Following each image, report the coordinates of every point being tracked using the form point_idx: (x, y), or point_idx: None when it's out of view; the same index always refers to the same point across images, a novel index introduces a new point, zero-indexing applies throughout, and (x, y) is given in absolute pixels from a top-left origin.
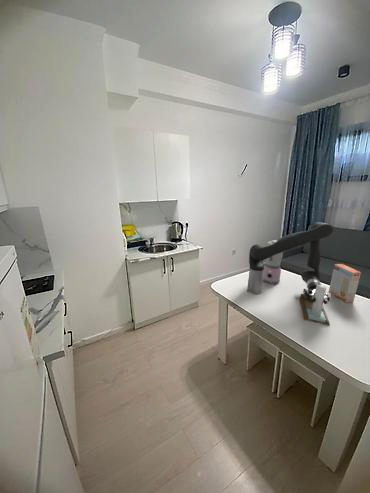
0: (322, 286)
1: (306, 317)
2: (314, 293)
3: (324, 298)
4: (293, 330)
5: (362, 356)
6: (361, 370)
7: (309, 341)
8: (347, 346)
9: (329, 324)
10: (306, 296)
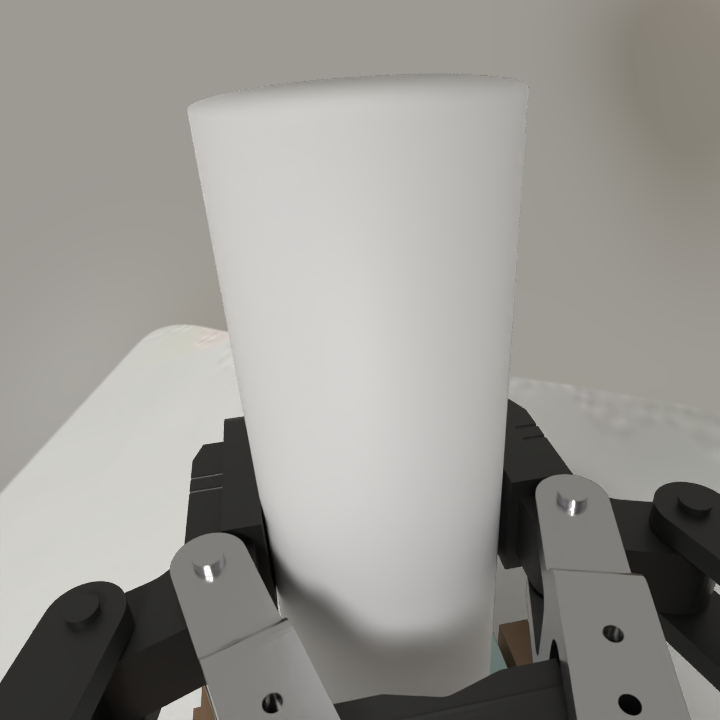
0: (323, 102)
1: (512, 625)
2: (550, 597)
3: (254, 478)
4: (553, 441)
5: (67, 437)
6: (140, 359)
7: None
8: (131, 475)
9: (198, 716)
10: (713, 599)
